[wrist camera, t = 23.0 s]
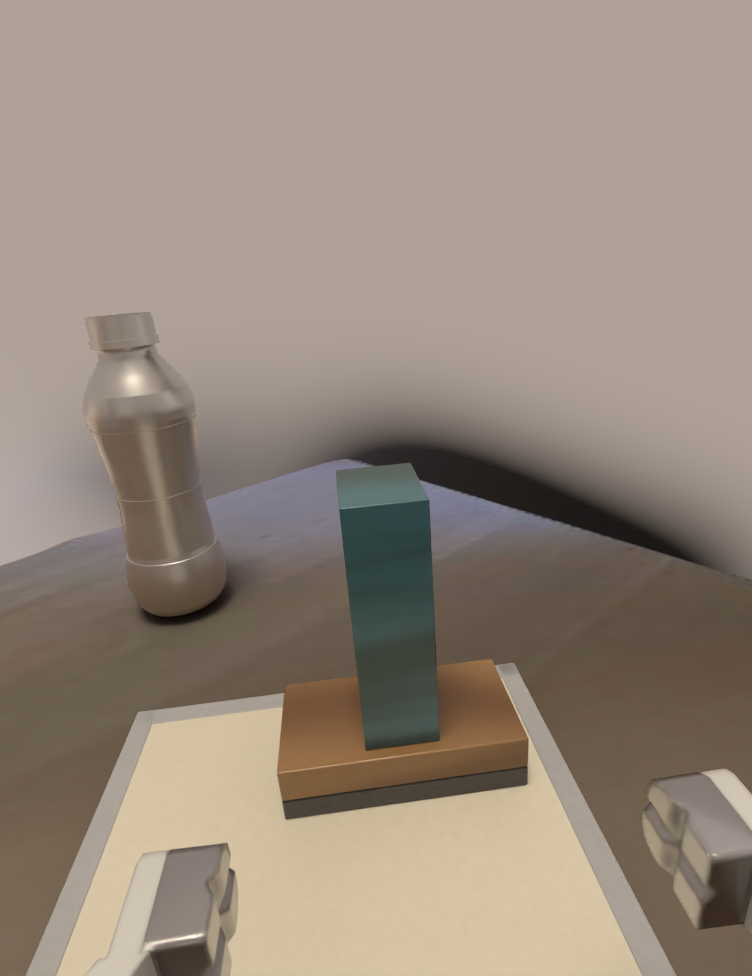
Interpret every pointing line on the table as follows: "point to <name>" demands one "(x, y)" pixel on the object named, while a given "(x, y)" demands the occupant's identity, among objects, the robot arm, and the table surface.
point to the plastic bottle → (152, 467)
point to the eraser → (394, 677)
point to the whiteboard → (358, 862)
